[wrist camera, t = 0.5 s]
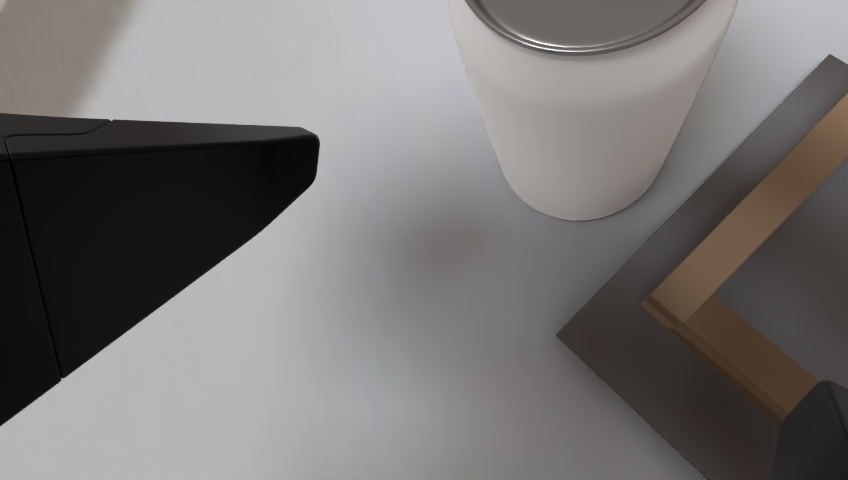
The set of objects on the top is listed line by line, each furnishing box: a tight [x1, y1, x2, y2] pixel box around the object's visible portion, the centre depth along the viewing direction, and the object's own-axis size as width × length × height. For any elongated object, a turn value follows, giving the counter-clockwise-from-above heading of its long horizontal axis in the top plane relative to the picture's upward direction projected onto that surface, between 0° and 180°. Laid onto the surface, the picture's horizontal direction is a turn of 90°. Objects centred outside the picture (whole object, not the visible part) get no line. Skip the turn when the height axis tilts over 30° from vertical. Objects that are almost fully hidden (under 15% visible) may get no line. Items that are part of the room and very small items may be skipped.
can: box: [448, 0, 738, 221], centre depth 17 cm, size 6×6×12 cm
